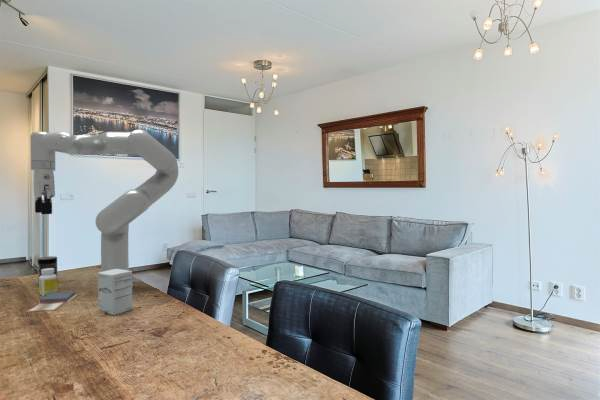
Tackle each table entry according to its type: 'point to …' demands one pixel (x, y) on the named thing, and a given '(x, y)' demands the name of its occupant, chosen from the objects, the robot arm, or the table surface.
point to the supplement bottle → (47, 282)
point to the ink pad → (57, 297)
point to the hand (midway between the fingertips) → (43, 213)
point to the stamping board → (47, 306)
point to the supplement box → (115, 291)
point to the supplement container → (47, 264)
